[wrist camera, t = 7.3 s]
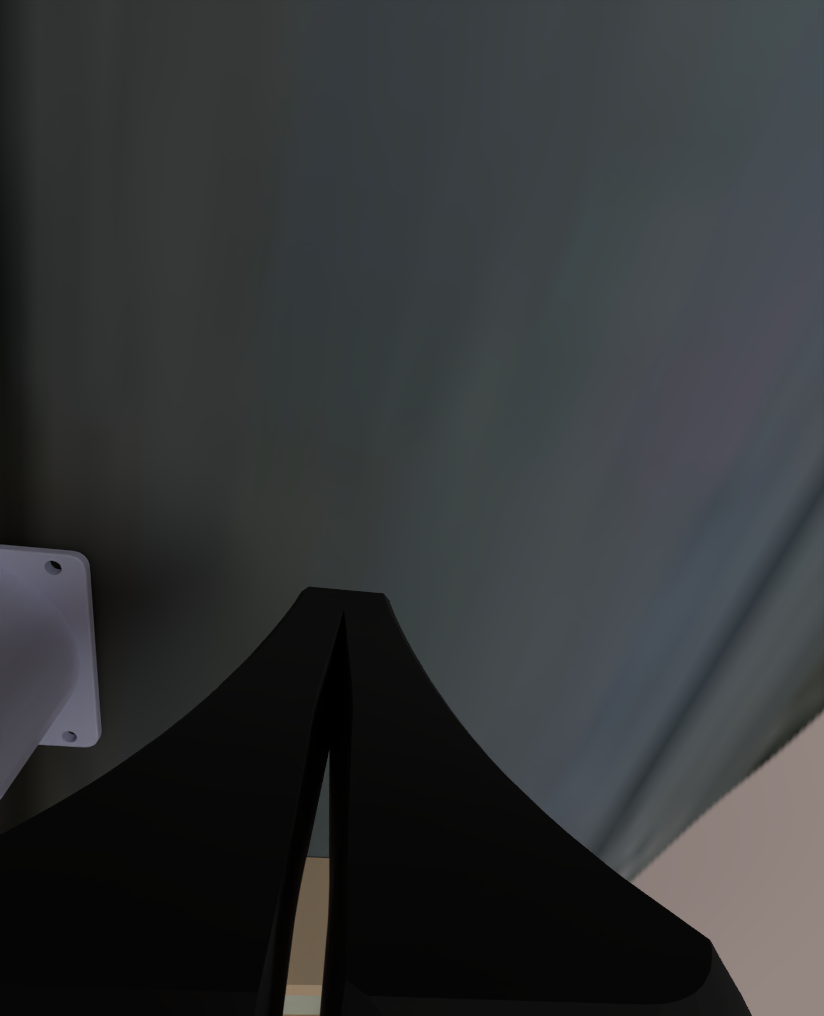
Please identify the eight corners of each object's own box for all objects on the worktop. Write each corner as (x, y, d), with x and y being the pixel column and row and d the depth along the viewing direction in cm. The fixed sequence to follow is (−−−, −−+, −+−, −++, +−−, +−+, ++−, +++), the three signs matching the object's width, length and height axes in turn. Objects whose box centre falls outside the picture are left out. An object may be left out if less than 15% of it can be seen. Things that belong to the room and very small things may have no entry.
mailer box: (123, 1000, 29) (76, 1139, 25) (112, 850, 25) (55, 980, 21) (374, 1002, 30) (374, 1136, 26) (398, 860, 27) (404, 986, 22)
